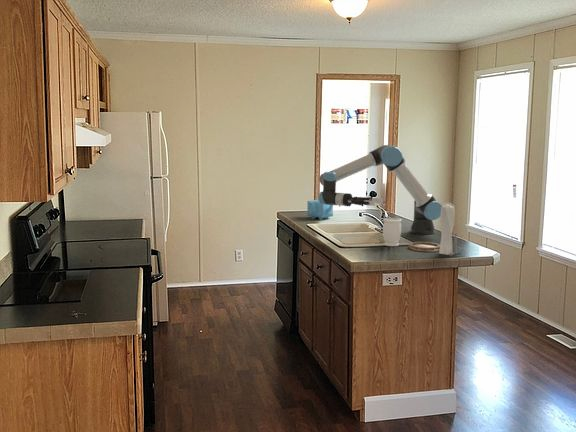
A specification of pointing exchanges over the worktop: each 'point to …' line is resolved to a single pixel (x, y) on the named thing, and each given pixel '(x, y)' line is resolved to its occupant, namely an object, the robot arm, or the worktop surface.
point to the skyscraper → (447, 230)
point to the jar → (391, 231)
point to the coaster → (424, 246)
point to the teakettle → (319, 210)
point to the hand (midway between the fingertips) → (378, 202)
